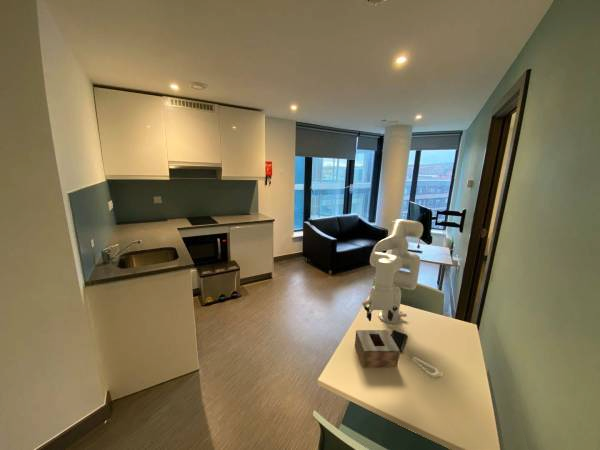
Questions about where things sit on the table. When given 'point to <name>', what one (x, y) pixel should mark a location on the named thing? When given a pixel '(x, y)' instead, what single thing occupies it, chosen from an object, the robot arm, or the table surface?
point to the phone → (399, 339)
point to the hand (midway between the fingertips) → (379, 319)
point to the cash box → (376, 349)
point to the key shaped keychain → (427, 366)
